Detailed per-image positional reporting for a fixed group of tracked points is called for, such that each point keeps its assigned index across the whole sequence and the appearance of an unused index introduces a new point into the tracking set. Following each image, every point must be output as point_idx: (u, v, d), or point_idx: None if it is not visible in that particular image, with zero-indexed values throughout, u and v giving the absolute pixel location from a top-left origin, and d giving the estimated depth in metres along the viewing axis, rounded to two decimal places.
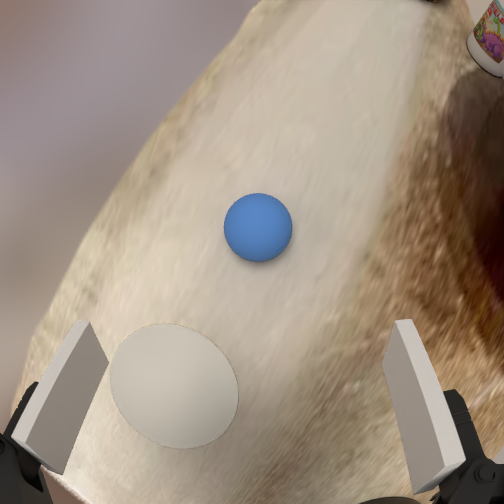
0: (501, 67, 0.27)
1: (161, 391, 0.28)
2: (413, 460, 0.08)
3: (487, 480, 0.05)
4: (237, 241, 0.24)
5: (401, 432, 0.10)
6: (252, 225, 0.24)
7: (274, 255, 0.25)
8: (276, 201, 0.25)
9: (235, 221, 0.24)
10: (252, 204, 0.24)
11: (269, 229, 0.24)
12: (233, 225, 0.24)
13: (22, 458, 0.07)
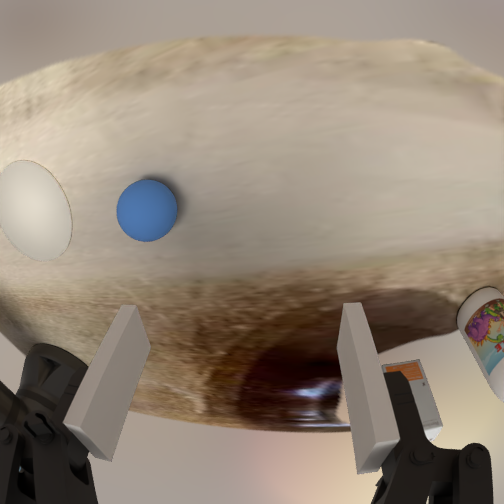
0: (463, 331, 0.34)
1: (24, 209, 0.31)
2: (356, 439, 0.10)
3: (425, 461, 0.07)
4: (118, 214, 0.26)
5: (349, 412, 0.11)
6: (131, 223, 0.25)
7: None
8: (166, 220, 0.26)
9: (126, 206, 0.25)
10: (146, 211, 0.25)
11: (138, 234, 0.26)
12: (124, 205, 0.25)
13: (72, 449, 0.08)
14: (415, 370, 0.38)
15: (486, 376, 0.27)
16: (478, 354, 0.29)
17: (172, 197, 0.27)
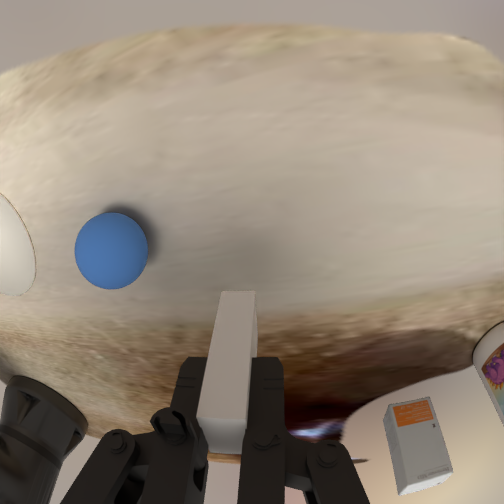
0: (479, 370, 0.28)
1: None
2: None
3: (271, 445, 0.08)
4: (75, 257, 0.20)
5: None
6: (89, 270, 0.19)
7: None
8: (133, 266, 0.20)
9: (83, 249, 0.19)
10: (106, 257, 0.19)
11: (100, 283, 0.20)
12: (80, 248, 0.19)
13: (200, 453, 0.08)
14: (425, 410, 0.32)
15: (503, 421, 0.21)
16: (496, 397, 0.23)
17: (140, 235, 0.21)
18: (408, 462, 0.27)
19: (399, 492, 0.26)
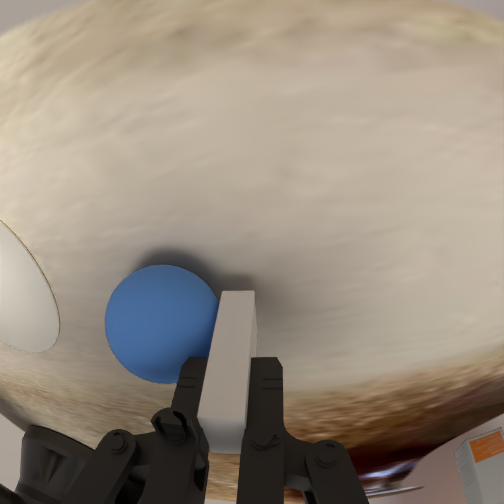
0: None
1: None
2: None
3: (270, 444, 0.08)
4: None
5: None
6: (115, 355, 0.12)
7: None
8: None
9: (109, 323, 0.12)
10: (136, 351, 0.12)
11: (133, 373, 0.13)
12: (107, 319, 0.13)
13: (201, 453, 0.08)
14: (498, 442, 0.24)
15: None
16: None
17: (206, 323, 0.13)
18: (486, 497, 0.19)
19: None
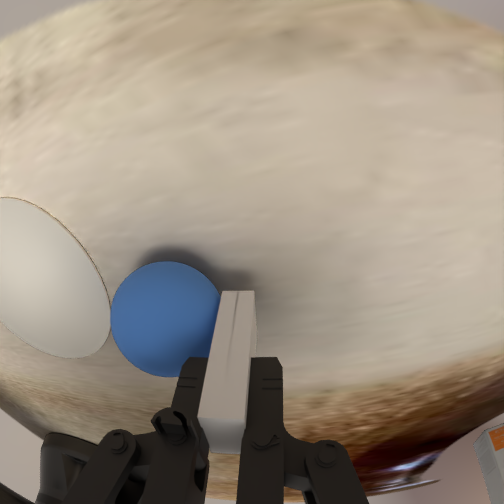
0: None
1: (19, 281, 0.17)
2: None
3: (270, 444, 0.08)
4: None
5: None
6: None
7: None
8: (149, 366, 0.13)
9: None
10: (116, 332, 0.13)
11: None
12: None
13: (201, 453, 0.08)
14: None
15: None
16: None
17: (180, 334, 0.12)
18: None
19: None
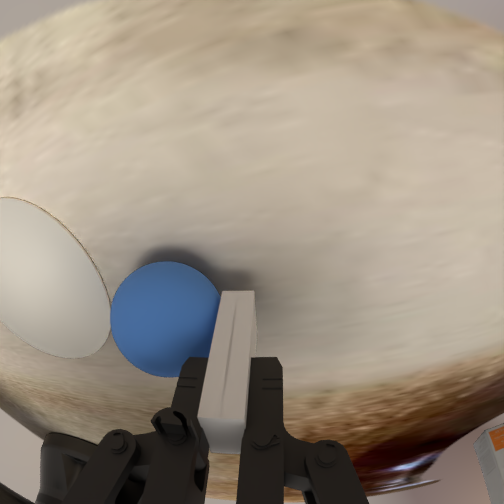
0: None
1: (19, 281, 0.17)
2: None
3: (270, 445, 0.08)
4: None
5: None
6: None
7: None
8: (149, 366, 0.13)
9: (112, 301, 0.14)
10: (116, 332, 0.13)
11: None
12: None
13: (201, 453, 0.08)
14: None
15: None
16: None
17: (180, 334, 0.12)
18: None
19: None
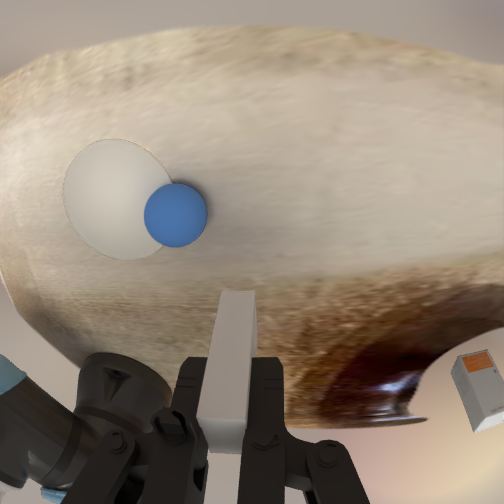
0: None
1: (108, 198, 0.29)
2: None
3: (271, 444, 0.08)
4: None
5: None
6: None
7: None
8: None
9: None
10: None
11: None
12: None
13: (200, 453, 0.08)
14: (486, 359, 0.36)
15: None
16: None
17: (145, 220, 0.26)
18: (482, 399, 0.31)
19: (475, 429, 0.30)
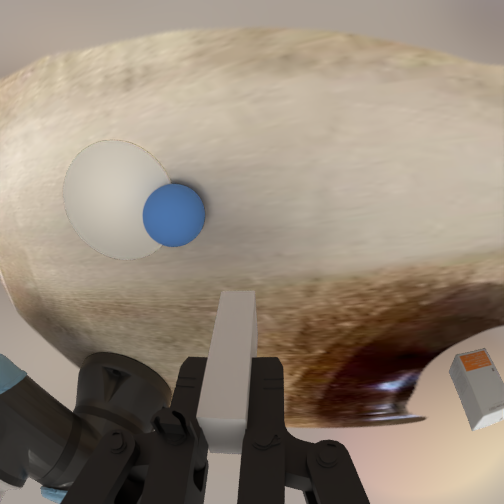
0: None
1: (108, 198, 0.30)
2: None
3: (271, 444, 0.08)
4: None
5: None
6: None
7: None
8: None
9: None
10: None
11: None
12: None
13: (200, 453, 0.08)
14: (484, 358, 0.37)
15: None
16: None
17: (143, 219, 0.26)
18: (480, 398, 0.31)
19: (473, 427, 0.31)
